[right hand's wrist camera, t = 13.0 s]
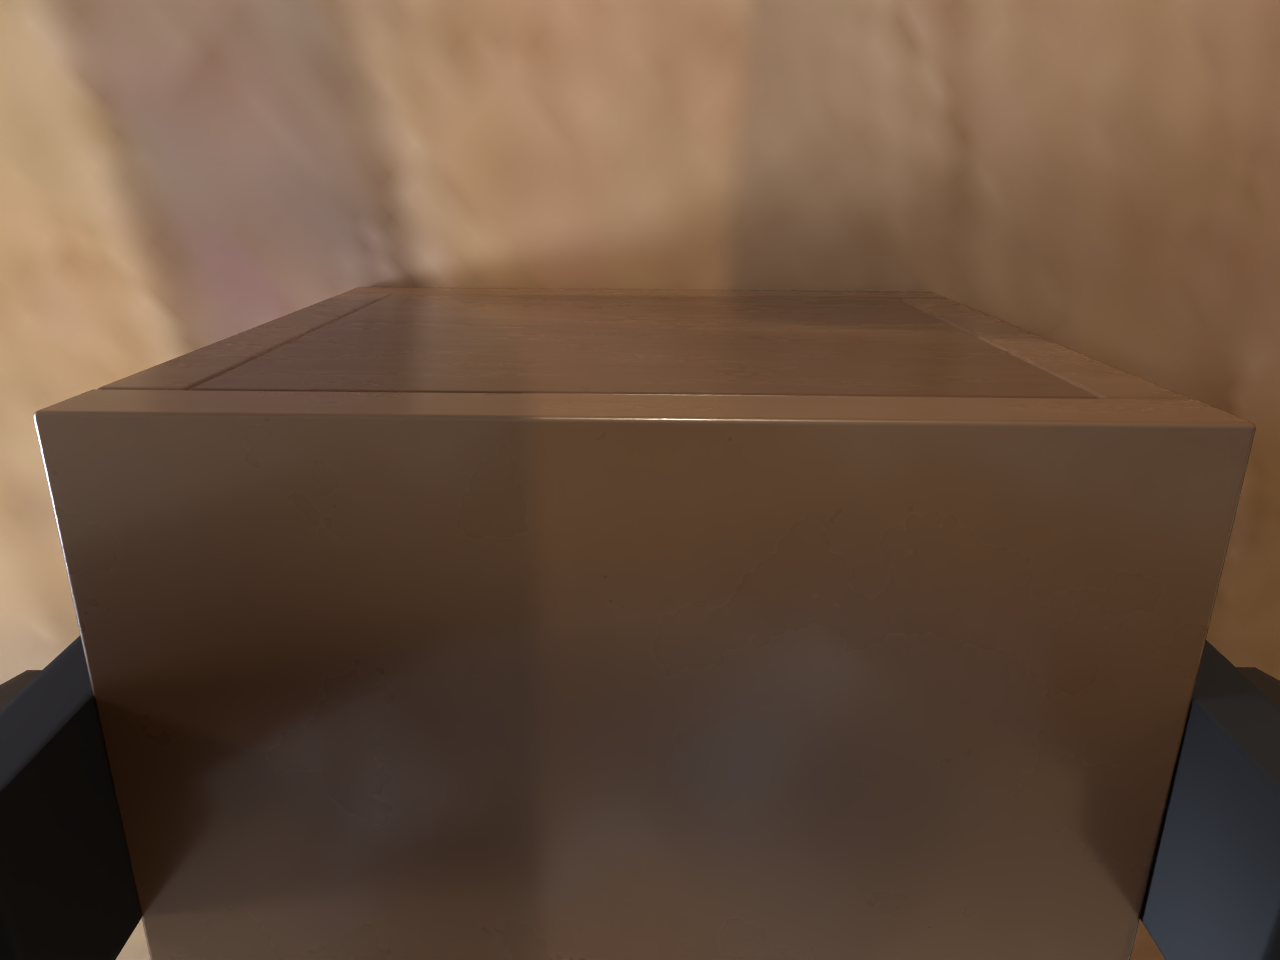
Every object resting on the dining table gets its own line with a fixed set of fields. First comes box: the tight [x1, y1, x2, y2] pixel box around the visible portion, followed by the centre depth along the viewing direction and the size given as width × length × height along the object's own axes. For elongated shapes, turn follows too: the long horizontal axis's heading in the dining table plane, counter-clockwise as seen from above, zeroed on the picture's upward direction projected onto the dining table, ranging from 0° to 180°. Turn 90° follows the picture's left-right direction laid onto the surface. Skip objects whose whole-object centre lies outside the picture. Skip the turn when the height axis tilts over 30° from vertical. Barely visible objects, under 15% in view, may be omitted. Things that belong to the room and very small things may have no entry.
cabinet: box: [33, 287, 1256, 960], centre depth 16 cm, size 22×11×9 cm, turn 0°
